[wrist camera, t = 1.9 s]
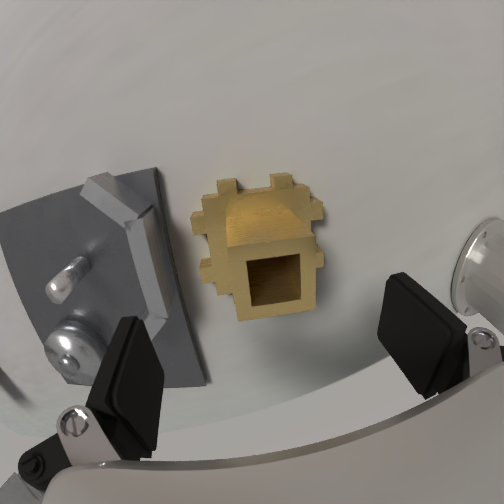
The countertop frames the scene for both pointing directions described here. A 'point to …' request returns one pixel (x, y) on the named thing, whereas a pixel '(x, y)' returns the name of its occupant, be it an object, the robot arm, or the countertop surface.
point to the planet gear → (262, 246)
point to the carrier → (100, 274)
